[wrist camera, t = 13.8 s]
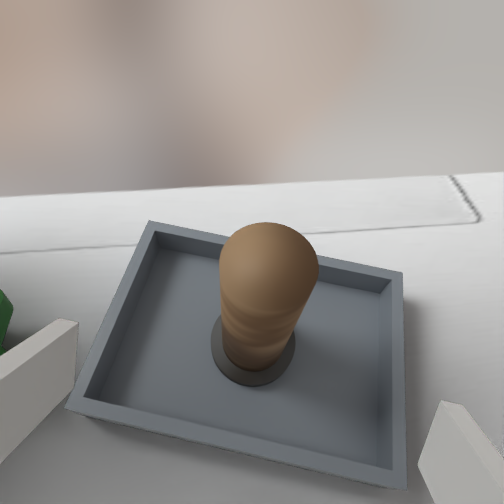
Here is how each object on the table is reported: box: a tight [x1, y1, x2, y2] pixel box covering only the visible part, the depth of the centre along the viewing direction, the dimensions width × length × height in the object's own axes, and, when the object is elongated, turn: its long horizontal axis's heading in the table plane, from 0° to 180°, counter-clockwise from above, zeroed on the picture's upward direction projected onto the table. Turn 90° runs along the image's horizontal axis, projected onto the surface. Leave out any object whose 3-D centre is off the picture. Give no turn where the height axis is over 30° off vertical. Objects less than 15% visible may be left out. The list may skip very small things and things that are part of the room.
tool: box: [211, 222, 319, 387], centre depth 21 cm, size 6×6×12 cm
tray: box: [64, 220, 407, 491], centre depth 25 cm, size 20×14×4 cm
